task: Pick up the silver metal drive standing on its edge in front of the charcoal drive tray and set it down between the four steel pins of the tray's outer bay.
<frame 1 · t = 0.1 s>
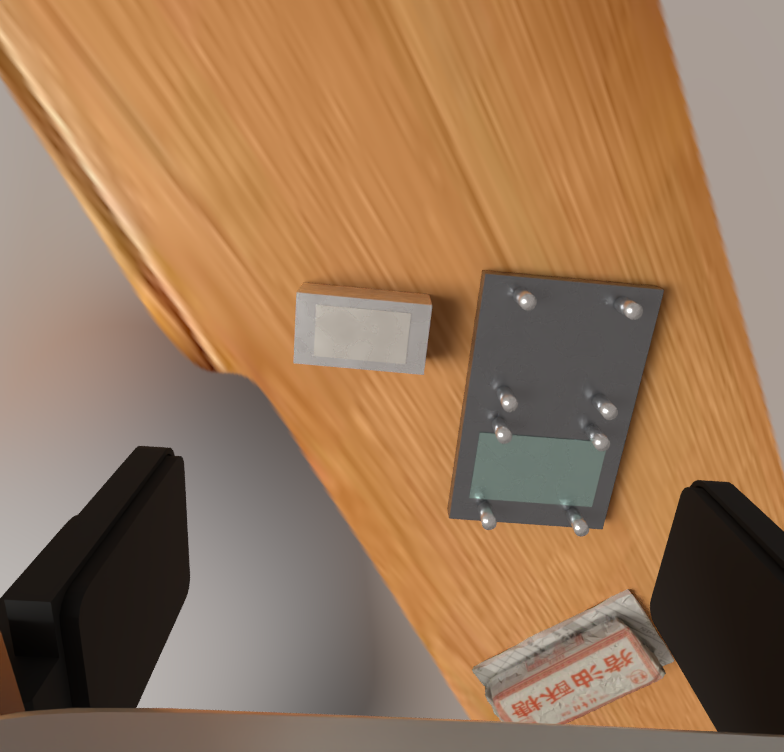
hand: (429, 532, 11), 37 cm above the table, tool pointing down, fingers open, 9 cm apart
drive: (363, 320, 47), on the table
drive tray: (544, 405, 50), on the table
packaged product: (568, 654, 61), on the table
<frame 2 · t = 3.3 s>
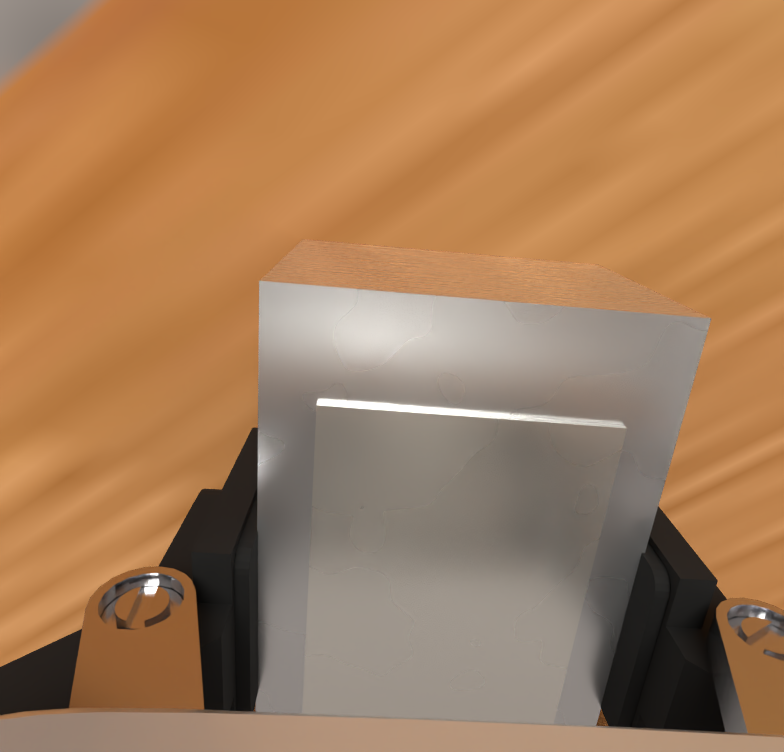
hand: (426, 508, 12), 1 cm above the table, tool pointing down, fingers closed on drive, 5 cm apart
drive: (423, 487, 12), on the table, touching gripper
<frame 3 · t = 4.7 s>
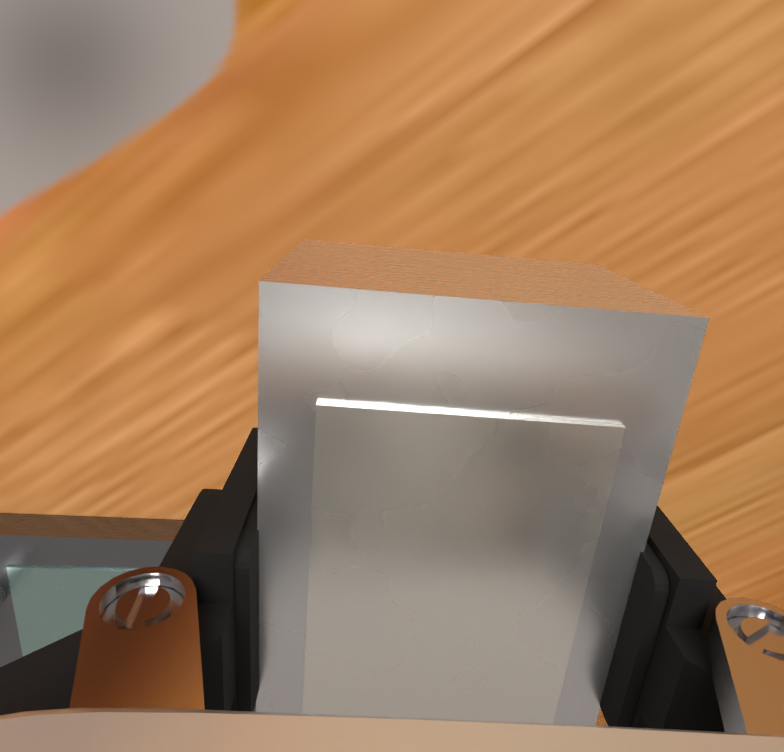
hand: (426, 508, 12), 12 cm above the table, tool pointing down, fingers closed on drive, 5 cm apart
drive: (423, 486, 13), point 11 cm above the table, touching gripper
drive tray: (230, 645, 28), on the table
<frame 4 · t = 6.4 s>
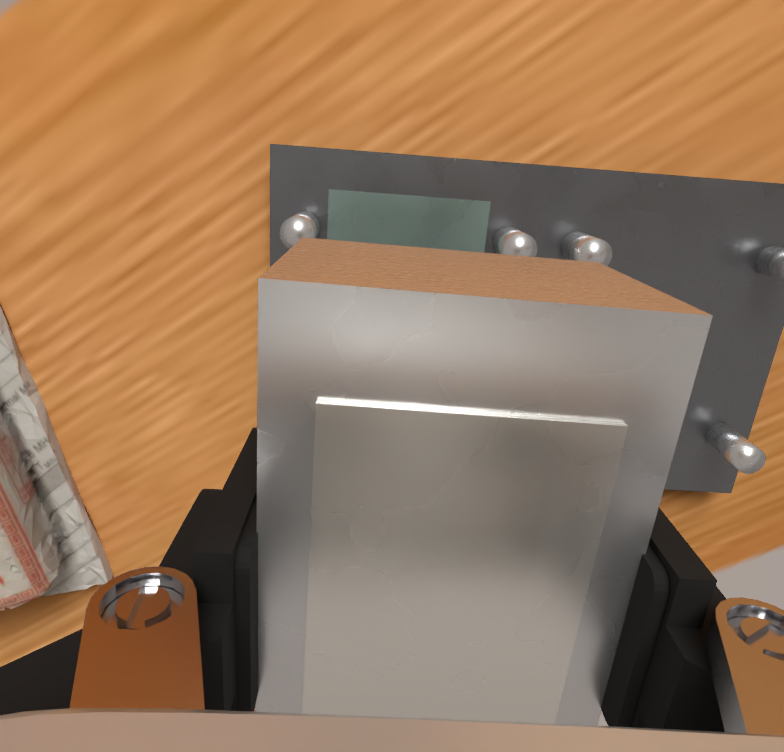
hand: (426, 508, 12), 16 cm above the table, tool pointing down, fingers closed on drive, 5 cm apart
drive: (424, 486, 12), point 15 cm above the table, touching gripper
drive tray: (518, 328, 27), on the table
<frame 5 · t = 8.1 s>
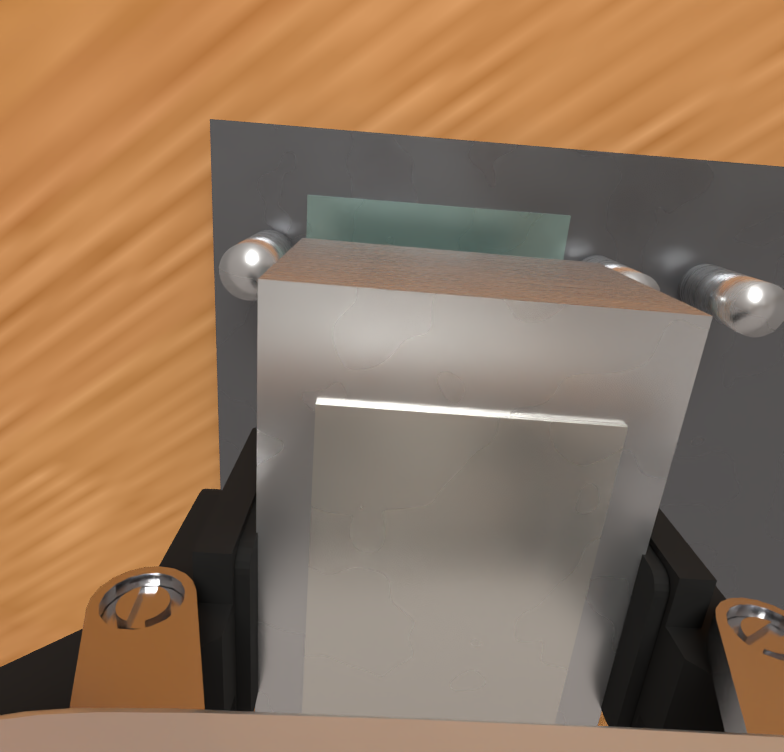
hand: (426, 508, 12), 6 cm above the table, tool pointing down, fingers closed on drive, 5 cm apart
drive: (424, 486, 12), point 5 cm above the table, touching gripper
drive tray: (597, 404, 18), on the table
when the fingers open (4 cm above the table, at t = 9.5 s): drive drops 1 cm, resting on drive tray.
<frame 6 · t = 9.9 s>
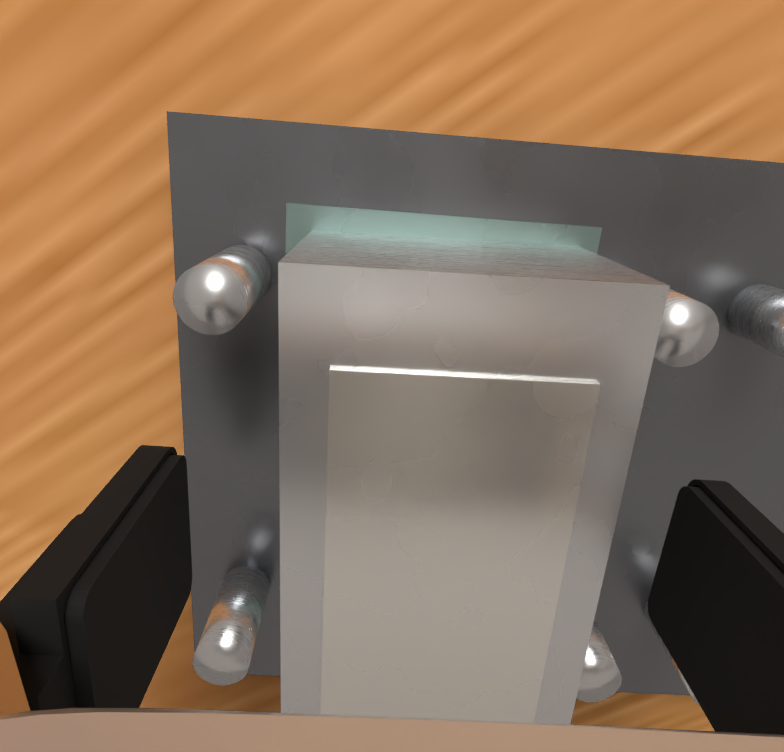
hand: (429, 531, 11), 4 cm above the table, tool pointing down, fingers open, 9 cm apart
drive: (426, 456, 14), point 2 cm above the table, touching drive tray
drive tray: (624, 442, 15), on the table
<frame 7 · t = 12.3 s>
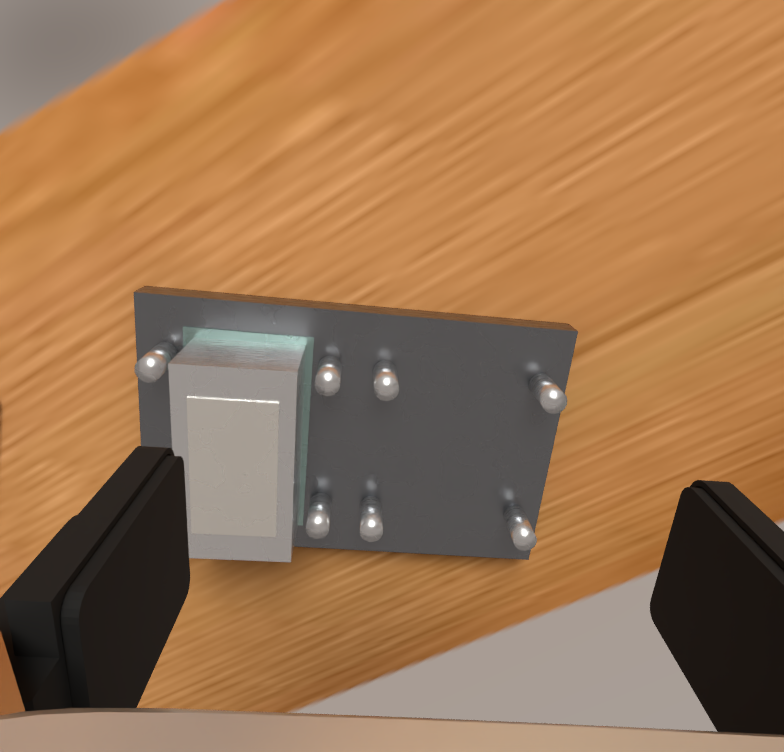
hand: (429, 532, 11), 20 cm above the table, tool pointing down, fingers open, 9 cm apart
drive: (249, 432, 31), point 2 cm above the table, touching drive tray
drive tray: (351, 427, 33), on the table
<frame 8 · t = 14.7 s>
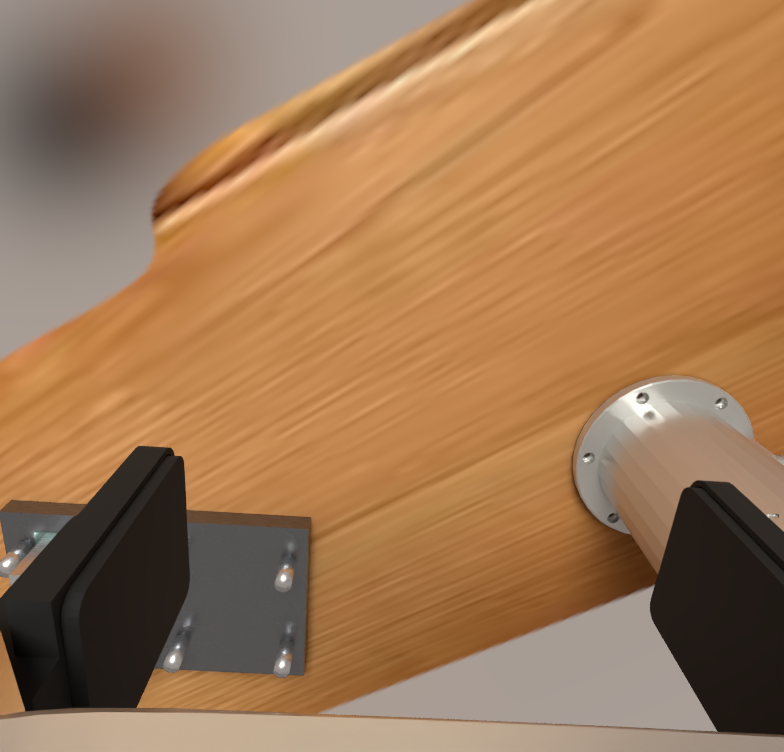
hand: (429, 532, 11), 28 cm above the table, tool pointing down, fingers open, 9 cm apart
drive: (88, 595, 44), point 2 cm above the table, touching drive tray
drive tray: (167, 585, 46), on the table
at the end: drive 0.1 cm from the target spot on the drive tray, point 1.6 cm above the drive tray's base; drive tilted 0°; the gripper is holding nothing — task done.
